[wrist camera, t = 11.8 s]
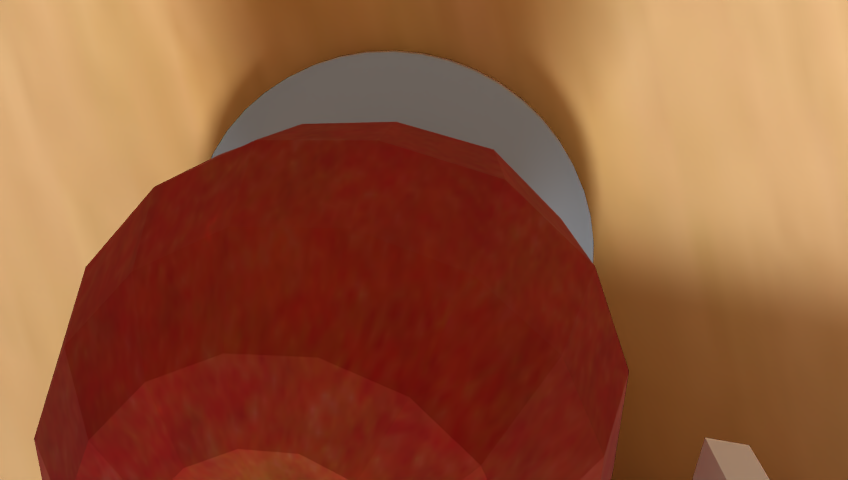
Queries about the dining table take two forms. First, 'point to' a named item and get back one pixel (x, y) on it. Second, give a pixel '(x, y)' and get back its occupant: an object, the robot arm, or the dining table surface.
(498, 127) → the plate
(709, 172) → the dining table surface
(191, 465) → the apple
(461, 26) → the dining table surface
